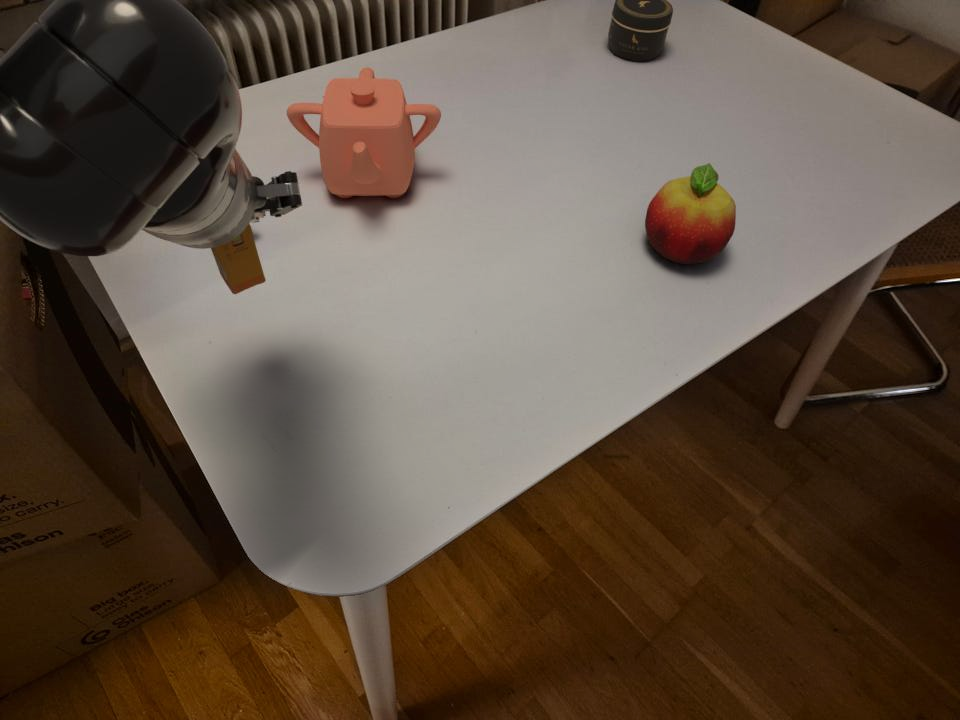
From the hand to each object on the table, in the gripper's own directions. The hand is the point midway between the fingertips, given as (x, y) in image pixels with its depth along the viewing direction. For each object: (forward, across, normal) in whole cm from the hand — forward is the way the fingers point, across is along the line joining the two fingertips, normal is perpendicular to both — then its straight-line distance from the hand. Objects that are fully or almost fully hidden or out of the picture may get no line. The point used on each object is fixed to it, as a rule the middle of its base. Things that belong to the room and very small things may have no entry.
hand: (225, 213), depth 58 cm
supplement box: (+3, 0, +6) cm, 7 cm away
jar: (+50, -67, -26) cm, 88 cm away
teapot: (+31, -16, -6) cm, 35 cm away
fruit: (+16, -52, +9) cm, 55 cm away
